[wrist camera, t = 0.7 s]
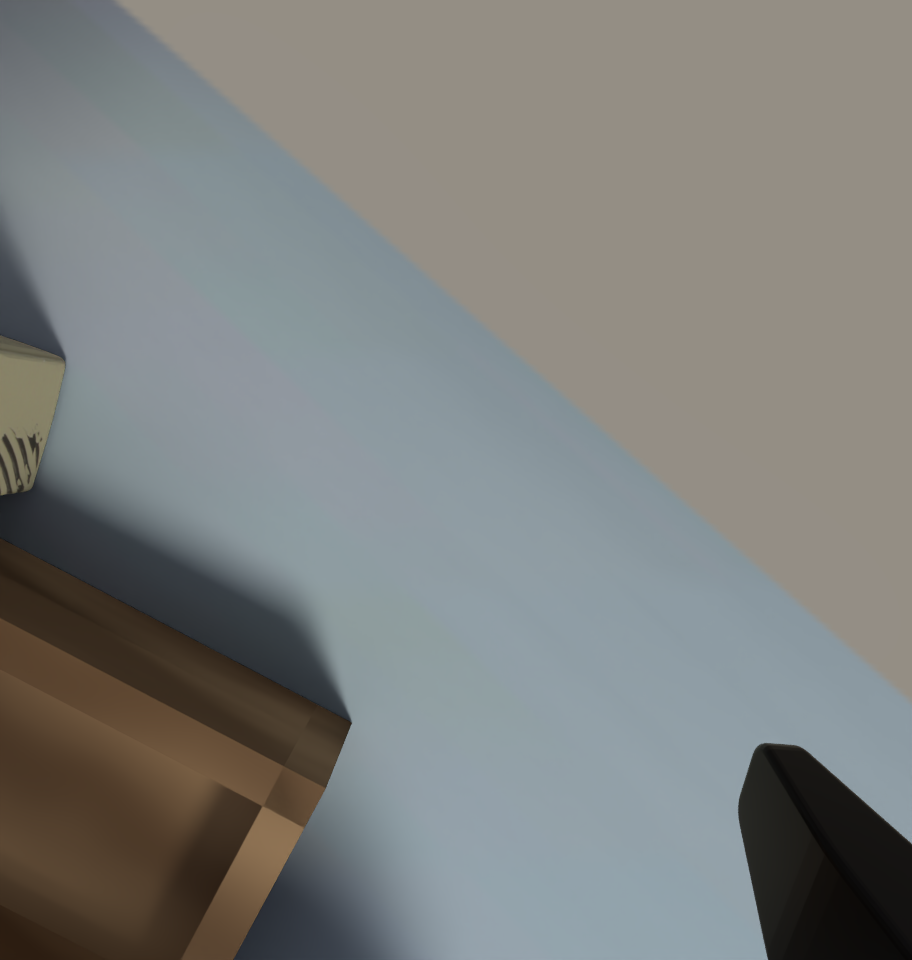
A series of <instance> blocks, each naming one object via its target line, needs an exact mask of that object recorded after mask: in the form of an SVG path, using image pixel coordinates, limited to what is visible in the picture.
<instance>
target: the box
mask: <svg viewBox="0 0 912 960" xmlns="http://www.w3.org/2000/svg"><path fill="white" fill-rule="evenodd" d="M64 371H65V361H64V360H63V359H62V358H61V357H59V356H57V355H54V354H51V353H49V352H46V351H44V350H41V349H38V348H35V347H33V346H30V345H27V344H24V343H21V342H18V341H15V340H12V339H9V338H6V337H3V336H0V495H5V494H13V493H17V492H25V491H29V490H30V489H31V488H32V487H33V484H34V481H35V477H36V474H37V471H38V468H39V464H40V461H41V458H42V454H43V451H44V448H45V445H46V442H47V438H48V435H49V431H50V428H51V424H52V420H53V417H54V413H55V408H56V405H57V401H58V396H59V392H60V388H61V384H62V379H63V375H64Z"/></svg>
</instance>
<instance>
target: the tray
mask: <svg viewBox="0 0 912 960" xmlns="http://www.w3.org/2000/svg"><path fill="white" fill-rule="evenodd" d="M351 724H352V723H351V722H350V721H348V720H346V719H344V718H342V717H340V716H338V715H336V714H334V713H332V712H330V711H329V710H327V709H325V708H323V707H321V706H319V705H317V704H315V703H313V702H311V701H310V700H308V699H306V698H304V697H302V696H300V695H298V694H296V693H294V692H292V691H290V690H289V689H287V688H285V687H283V686H281V685H279V684H277V683H275V682H273V681H271V680H270V679H268V678H266V677H264V676H262V675H260V674H258V673H256V672H254V671H252V670H250V669H249V668H247V667H245V666H243V665H241V664H239V663H237V662H235V661H233V660H231V659H230V658H228V657H226V656H224V655H222V654H220V653H218V652H216V651H214V650H212V649H210V648H209V647H207V646H205V645H203V644H201V643H199V642H197V641H195V640H193V639H191V638H190V637H188V636H186V635H184V634H182V633H180V632H178V631H176V630H174V629H172V628H170V627H169V626H167V625H165V624H163V623H161V622H159V621H157V620H155V619H153V618H151V617H150V616H148V615H146V614H144V613H142V612H140V611H138V610H136V609H134V608H132V607H130V606H129V605H127V604H125V603H123V602H121V601H119V600H117V599H115V598H113V597H111V596H110V595H108V594H106V593H104V592H102V591H100V590H98V589H96V588H94V587H92V586H90V585H89V584H87V583H85V582H83V581H81V580H79V579H77V578H75V577H73V576H71V575H70V574H68V573H66V572H64V571H62V570H60V569H58V568H56V567H54V566H52V565H50V564H49V563H47V562H45V561H43V560H41V559H39V558H37V557H35V556H33V555H31V554H30V553H28V552H26V551H24V550H22V549H20V548H18V547H16V546H14V545H12V544H10V543H9V542H7V541H5V540H3V539H1V538H0V960H233V959H234V957H235V955H236V954H237V952H238V950H239V948H240V946H241V944H242V942H243V941H244V939H245V937H246V935H247V933H248V931H249V929H250V928H251V926H252V924H253V922H254V920H255V918H256V916H257V915H258V913H259V911H260V909H261V907H262V905H263V904H264V902H265V900H266V898H267V896H268V894H269V892H270V891H271V889H272V887H273V885H274V883H275V881H276V879H277V878H278V876H279V874H280V872H281V870H282V868H283V866H284V865H285V863H286V861H287V859H288V857H289V855H290V853H291V852H292V850H293V848H294V846H295V844H296V842H297V841H298V839H299V837H300V835H301V833H302V831H303V829H304V828H305V826H306V824H307V822H308V820H309V818H310V816H311V815H312V813H313V811H314V809H315V807H316V805H317V803H318V802H319V800H320V798H321V796H322V794H323V792H324V790H325V789H326V786H327V784H328V781H329V779H330V776H331V774H332V771H333V769H334V766H335V764H336V761H337V759H338V756H339V754H340V751H341V749H342V746H343V744H344V741H345V739H346V736H347V734H348V731H349V729H350V726H351Z"/></svg>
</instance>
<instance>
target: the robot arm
mask: <svg viewBox="0 0 912 960" xmlns="http://www.w3.org/2000/svg"><path fill="white" fill-rule="evenodd" d="M738 815H739V823H740V829H741V833H742V838H743V843H744V848H745V852H746V857H747V862H748V867H749V872H750V876H751V881H752V886H753V891H754V896H755V900H756V905H757V910H758V915H759V920H760V924H761V929H762V934H763V939H764V943H765V948H766V953H767V957H768V960H912V844H911V843H910V842H909V841H908V840H907V839H906V838H905V837H903V836H902V835H901V834H900V833H899V832H898V831H897V830H896V829H894V828H893V827H892V826H891V825H890V824H889V823H888V822H886V821H885V820H884V819H883V818H882V817H881V816H880V815H879V814H877V813H876V812H875V811H874V810H873V809H872V808H871V807H869V806H868V805H867V804H866V803H865V802H864V801H863V800H862V799H860V798H859V797H858V796H857V795H856V794H855V793H854V792H853V791H851V790H850V789H849V788H848V787H847V786H846V785H845V784H843V783H842V782H841V781H840V780H839V779H838V778H837V777H836V776H834V775H833V774H832V773H831V772H830V771H829V770H828V769H827V768H825V767H824V766H823V765H822V764H821V763H820V762H819V761H817V760H816V759H815V758H814V757H813V756H812V755H811V754H810V753H808V752H807V751H806V750H804V749H803V748H801V747H799V746H795V745H785V744H771V743H764V744H760V745H759V746H758V747H757V748H756V749H755V751H754V753H753V756H752V759H751V762H750V765H749V768H748V772H747V775H746V778H745V781H744V784H743V788H742V791H741V794H740V798H739V805H738Z"/></svg>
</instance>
